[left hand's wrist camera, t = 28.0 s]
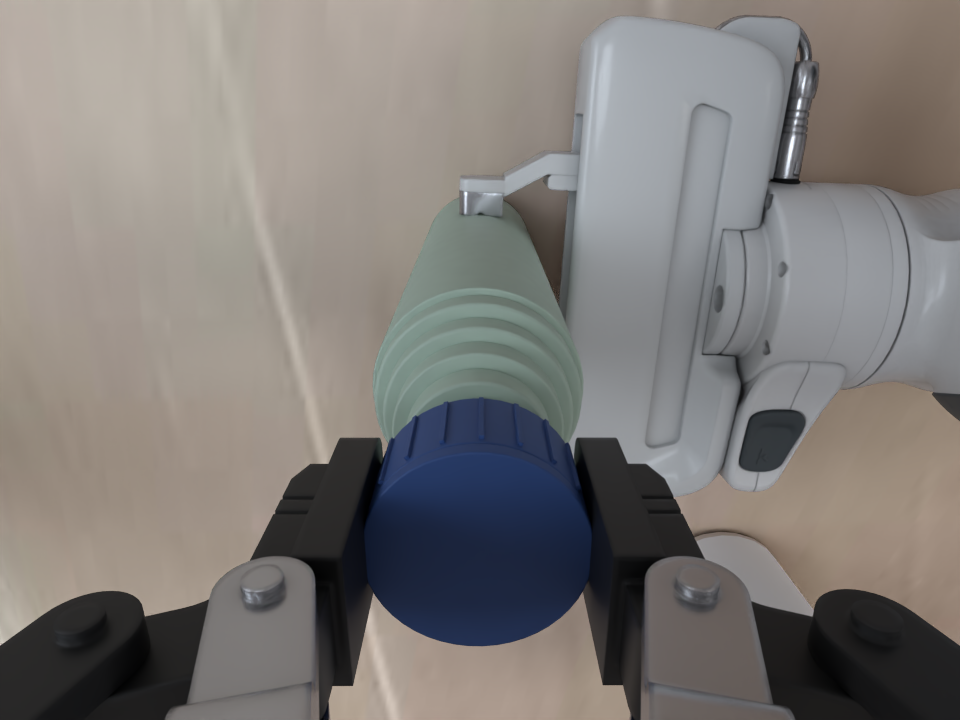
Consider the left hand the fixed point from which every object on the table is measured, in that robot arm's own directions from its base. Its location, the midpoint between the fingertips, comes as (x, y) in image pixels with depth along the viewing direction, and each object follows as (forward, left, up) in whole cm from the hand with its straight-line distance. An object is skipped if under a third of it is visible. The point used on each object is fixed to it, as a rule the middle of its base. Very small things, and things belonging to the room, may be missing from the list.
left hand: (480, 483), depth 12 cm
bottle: (0, 0, -24) cm, 24 cm away
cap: (0, 0, +2) cm, 2 cm away
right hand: (0, +1, -17) cm, 17 cm away
